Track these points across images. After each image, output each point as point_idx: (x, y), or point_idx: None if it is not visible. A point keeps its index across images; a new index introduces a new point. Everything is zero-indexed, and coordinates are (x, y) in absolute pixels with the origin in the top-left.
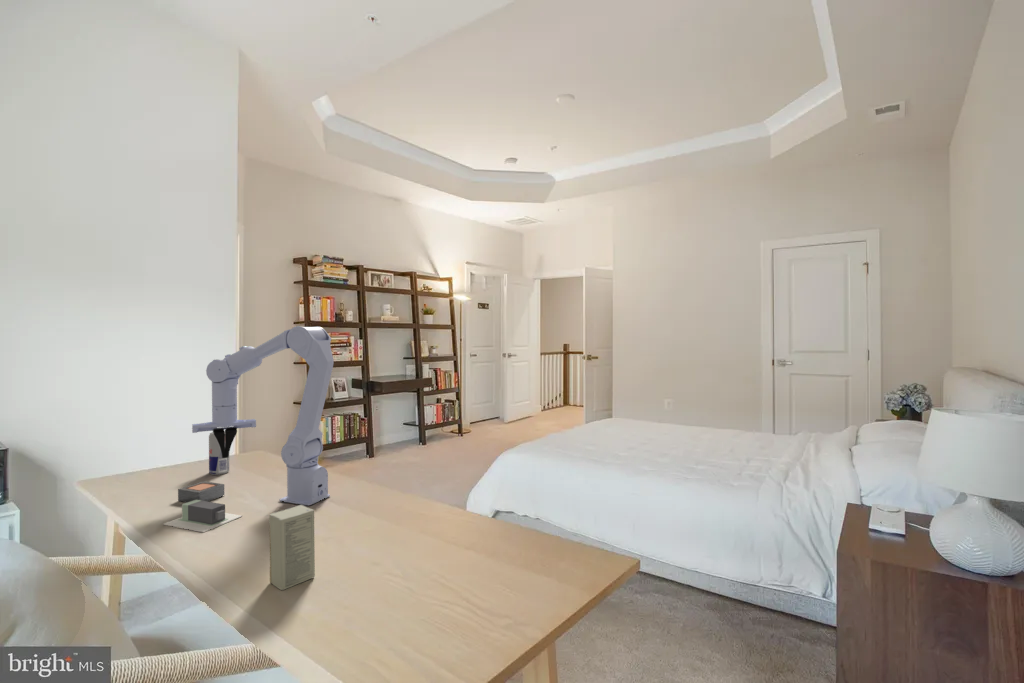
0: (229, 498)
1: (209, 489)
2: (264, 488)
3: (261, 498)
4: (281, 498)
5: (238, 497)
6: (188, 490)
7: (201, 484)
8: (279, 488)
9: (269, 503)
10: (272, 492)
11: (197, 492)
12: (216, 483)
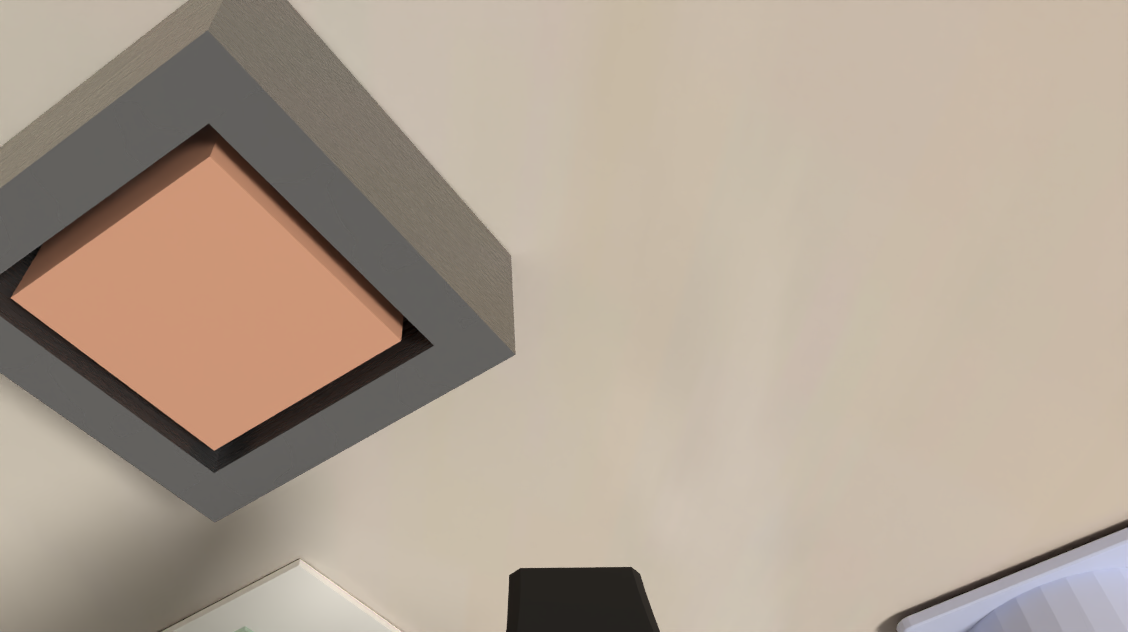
0: (549, 365)
1: (326, 459)
2: (1002, 198)
3: (817, 493)
4: (926, 625)
5: (640, 375)
6: (59, 405)
7: (193, 203)
8: (1124, 284)
9: (816, 616)
10: (986, 379)
11: (193, 501)
12: (415, 271)
